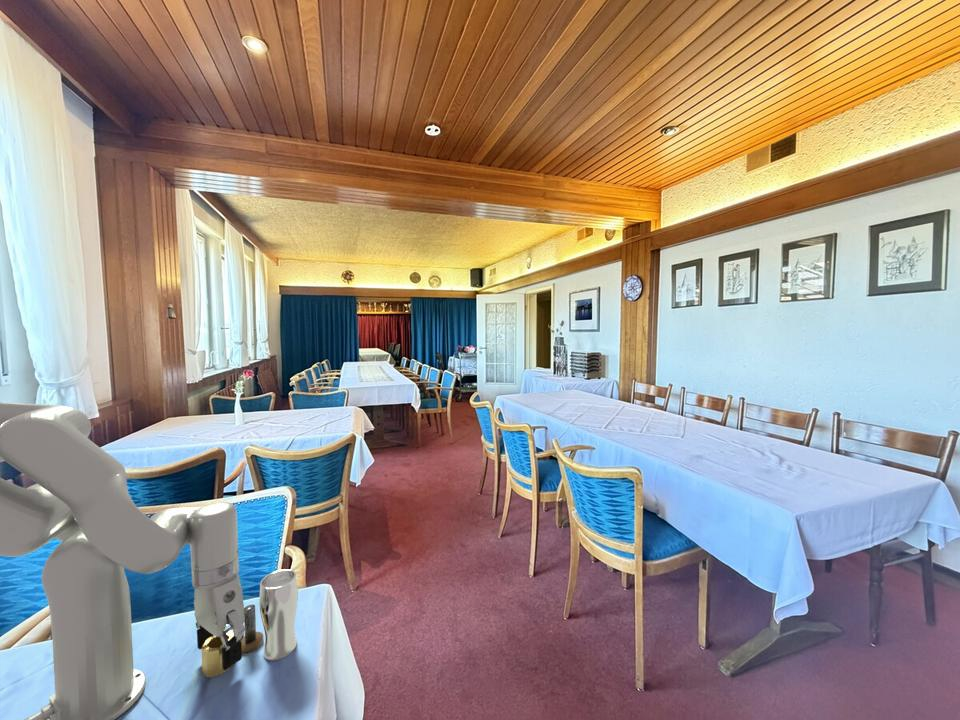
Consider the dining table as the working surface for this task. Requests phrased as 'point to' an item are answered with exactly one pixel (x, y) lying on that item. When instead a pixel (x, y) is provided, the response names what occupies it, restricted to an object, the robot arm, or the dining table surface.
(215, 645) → the brass ring
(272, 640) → the silver metal vase
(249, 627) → the stand
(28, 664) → the dining table surface
